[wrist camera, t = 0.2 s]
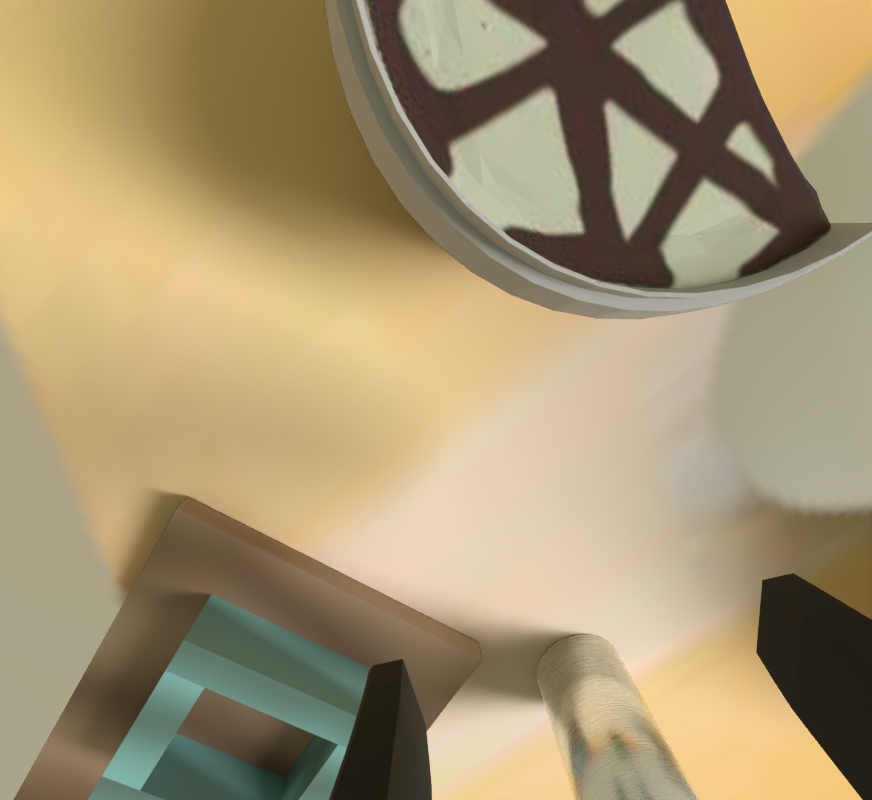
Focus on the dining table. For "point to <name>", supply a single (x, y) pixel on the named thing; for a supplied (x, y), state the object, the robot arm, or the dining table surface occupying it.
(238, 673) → the socket board
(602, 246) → the food container
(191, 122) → the dining table surface
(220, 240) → the dining table surface
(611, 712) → the steel pin
